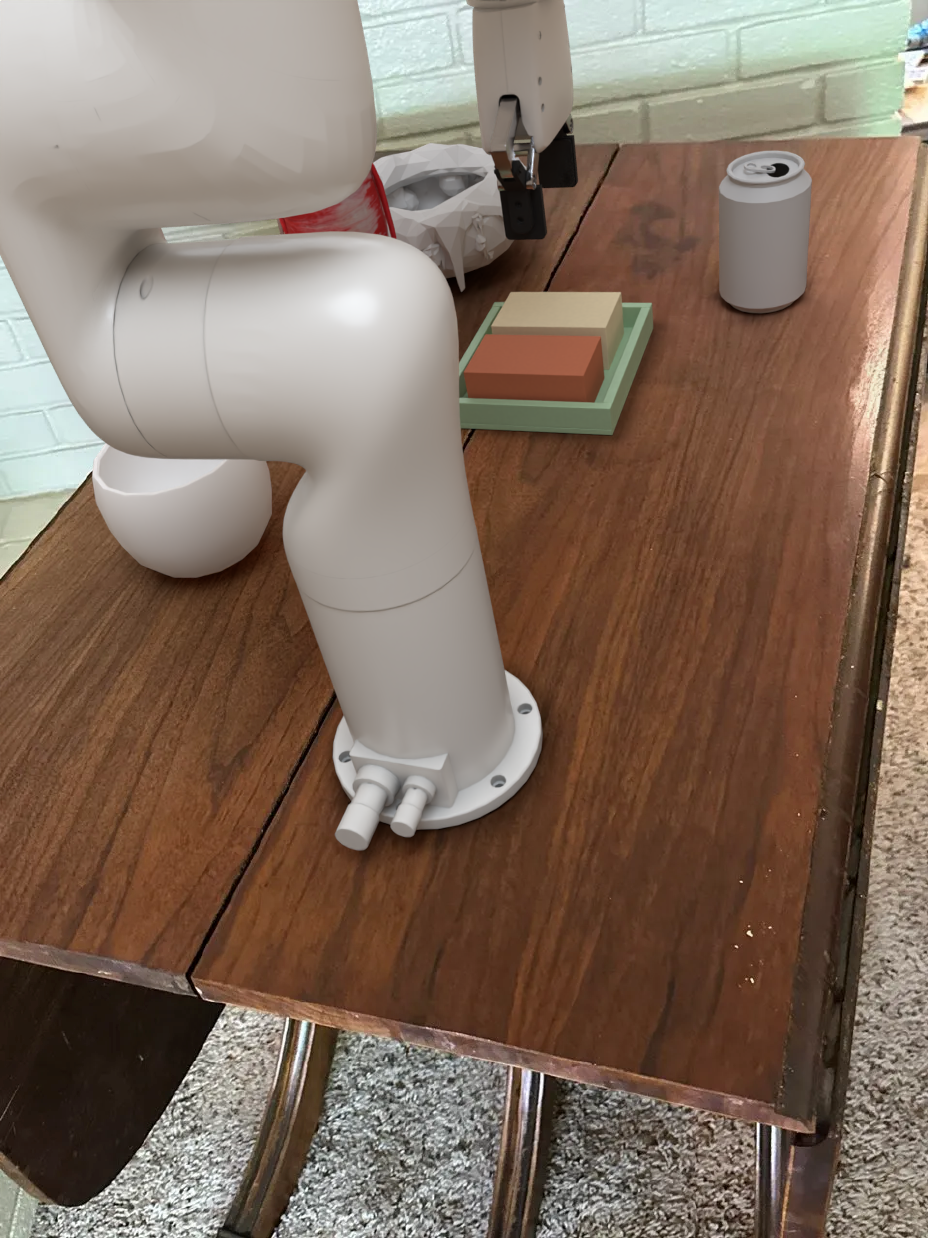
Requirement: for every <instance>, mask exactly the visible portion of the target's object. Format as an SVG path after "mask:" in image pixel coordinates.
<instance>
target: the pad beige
mask: <svg viewBox="0 0 928 1238" xmlns="http://www.w3.org/2000/svg"><path fill="white" fill-rule="evenodd" d="M622 298H623V296H622V292H621V291H510V292H509V294H508V296H507V298H506V300H505V301H504V302H505V303H504V305H503V306H502V308H501V310H500V312H499V313H498V315H497V317H496V318H495V320H494V322H493V324H492V325H491V329H492V335H554V336H601V344H602V355H603V367H604V370H609V369H610V366H611V364H612V361H613V359H614V357H615V354H616V352H617V349H618V347H619V344H620V342H621V340H622V337H623V335H624V325H623V311H622V303H623V299H622Z"/></svg>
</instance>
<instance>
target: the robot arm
mask: <svg viewBox="0 0 928 1238" xmlns="http://www.w3.org/2000/svg"><path fill="white" fill-rule="evenodd" d="M465 2H466V4H467V5H468V6H469V7H473V9H472V13H471V14H472V17H471V19H472V21H471V24H472V25H471V27H472V28H471V29H472V55H473V56H472V57H473V70H474V83H475V92H476V103H477V112H478V113H477V114H478V123H479V132H480V139H481V148H483V150H484V151H485V152H486V153H487V154H488V155H491V156H492V159H493V161H494V164H495V166H494V168H495V170H494V174H496V177H497V188H498V190H499V192H500V200H501V207H502V214H503V221H504V229H505V235H506V238H507V239H509V240H514V241H532V240H535V241H536V240H545V238H546V236H547V234H548V228H547V220H546V219H547V218H546V210H545V209H546V208H545V200H544V190H543V189H564V188H568V189H569V188H575V187H576V186H577V185H578V183H579V173H578V163H577V151H576V142H575V141H576V139H575V134H574V133H573V132H574V126H575V125H574V118H573V115H572V114H571V112H572V111H573V106H574V78H573V76H574V75H573V66H572V56H571V45H570V37H569V31H568V30H569V29H568V22H567V21H568V20H567V15H566V14H567V13H566V4H565V1H564V0H465ZM360 11H361V10H360V5H359V2H358V0H0V258H1V260H2V262H3V264H4V267H5V269H6V271H7V273H8V275H9V277H10V279H11V281H12V284H13V286H14V288H15V290H16V292H17V294H18V296H19V299H20V301H21V302H22V304H23V307H24V309H25V311H26V314H27V315H28V317H29V320H30V322H31V323H32V325H33V328H34V330H35V333H36V335H37V337H38V339H39V341H40V343H41V345H42V347H43V349H44V351H45V353H46V355H47V358H48V360H49V362H50V365H51V366H52V368H53V370H54V373H55V375H56V376H57V379H58V380H59V382H60V384H61V387H62V388H63V390H64V392H65V394H66V396H67V397H68V400H69V401H70V403H71V404H72V406H73V408H74V409H75V411H76V414H77V415H78V416H79V417H80V418H81V420H82V422H84V424H85V425H86V426H87V427H88V428H89V430H90V431H91V432H92V433H93V434H94V435H95V436H96V437H97V438H98V439H100V440H101V441H103V442H104V444H105V443H106V444H108V445H109V446H111V447H113V448H114V449H117V450H119V451H121V452H124V453H126V454H130V455H134V456H139V457H145V458H157V459H182V460H257V461H266V462H283V463H290V464H294V465H297V466H300V467H302V468H303V469H304V470H305V472H304V473H303V475H302V476H301V478H300V479H299V481H298V483H297V484H296V487H295V488H294V490H293V492H292V494H291V495H290V498H289V500H288V503H287V505H286V509H285V512H284V516H283V522H282V541H283V549H284V552H285V556H286V560H287V563H288V565H289V568H290V572H291V574H292V577H293V579H294V582H295V584H296V587H297V589H298V592H299V595H300V599H301V601H302V603H303V607H304V610H305V612H306V614H307V618H308V620H309V623H310V626H311V629H312V631H313V634H314V637H315V640H316V643H317V646H318V648H319V651H320V653H321V656H322V659H323V661H324V664H325V667H326V670H327V673H328V676H329V679H330V681H331V684H332V686H333V690H334V693H335V695H336V697H337V701H338V703H339V706H340V709H341V711H342V714H343V715H342V717H341V719H340V721H339V723H338V725H337V728H336V732H335V735H334V739H333V742H332V743H333V744H332V760H333V765H334V769H335V773H336V776H337V778H338V780H339V782H340V786H341V788H342V790H343V791H344V793H345V794H346V795H347V797H348V799H349V800H350V801H351V802H350V803H348V805H347V807H346V809H345V811H344V814H343V815H342V817H341V820H340V822H339V824H338V826H337V828H336V830H335V832H334V837H335V839H336V841H338V842H339V843H340V844H341V845H342V846H344V847H346V848H348V849H350V850H354V851H365V850H366V849H368V847H369V845H370V843H371V841H372V839H373V836H374V834H375V832H376V830H377V827H378V826H379V823H380V822H381V823H384V824H387V825H390V829H391V831H392V832H393V833H394V834H396V835H397V836H400V837H404V838H412V837H413V836H415V833H416V831H417V830H439V829H445V828H451V827H456V826H460V825H462V824H463V825H464V824H465V823H469V822H471V821H474V820H477V819H479V818H482V817H484V816H486V815H487V814H489V813H490V812H493V811H495V810H496V809H498V808H499V807H501V806H502V805H504V804H505V803H506V802H507V801H508V800H510V799H511V798H513V796H515V795H516V794H517V792H519V790H520V789H521V788H522V787H523V786H524V784H525V783H526V782H528V780H529V778H530V776H531V774H532V773H533V771H534V769H535V768H536V766H537V765H538V761H539V758H540V754H541V752H542V748H543V747H542V746H543V737H544V733H543V725H542V718H541V714H540V711H539V707H538V703H537V701H536V700H535V698H534V696H533V695H532V692H531V691H530V689H529V688H528V687H527V686H526V685H525V684H524V683H523V682H522V681H521V680H520V679H519V678H518V677H516V676H515V675H513V674H512V673H511V672H510V671H507V670H506V669H505V666H504V665H505V664H504V660H503V655H502V650H501V645H500V639H499V635H498V630H497V626H496V621H495V615H494V610H493V606H492V601H491V600H492V599H491V596H490V595H491V594H490V590H489V585H488V580H487V575H486V570H485V565H484V560H483V556H482V550H481V545H480V541H479V535H478V529H477V526H476V522H475V521H476V520H475V517H474V511H473V506H472V501H471V494H470V491H469V484H468V479H467V478H468V477H467V472H466V467H465V466H466V465H465V458H464V449H463V442H462V428H461V426H460V407H459V362H460V350H459V349H460V347H459V346H460V343H459V342H460V341H459V327H458V318H457V312H456V305H455V301H454V297H453V293H452V290H451V287H450V285H449V283H448V281H447V278H445V277H444V275H443V273H442V272H441V270H440V269H439V268H438V266H437V265H436V264H435V263H434V262H433V261H432V260H431V259H430V258H429V257H428V256H427V255H426V254H424V253H423V252H422V251H420V250H419V249H417V248H415V247H414V246H412V245H410V244H408V243H405V242H403V241H401V240H397V239H394V238H391V237H387V236H383V235H378V234H370V233H361V232H339V231H328V232H313V233H297V234H285V233H284V234H281V235H280V234H268V235H266V234H265V235H264V234H263V235H251V236H240V237H238V238H224V239H223V238H221V239H205V240H191V241H174V242H173V241H172V242H168V241H167V239H166V237H165V234H164V231H163V229H164V228H178V227H179V228H180V227H194V226H195V227H196V226H209V225H210V226H211V225H224V224H225V225H227V224H237V223H249V222H261V221H268V220H277V218H285V217H290V216H296V215H302V214H307V213H313V212H316V211H319V210H322V209H325V208H328V207H330V206H333V205H336V204H338V203H340V202H341V201H343V200H344V199H346V198H347V197H348V196H350V195H351V194H353V193H354V192H355V191H356V190H357V189H358V188H359V187H360V186H361V184H362V183H363V181H364V180H365V178H366V177H367V175H368V173H369V171H370V170H371V166H372V163H374V159H375V156H376V149H377V139H378V127H377V113H376V103H375V101H376V100H375V93H374V83H373V78H372V77H373V76H372V73H371V66H370V57H369V52H368V47H367V41H366V37H365V32H364V27H363V22H362V21H363V20H362V16H361V12H360ZM527 140H528V141H529V140H530V141H529V142H515V141H527ZM517 157H518V158H519V157H526V169H525V168H524V166H525V165H524V164H523V165H524V166H523V165H522V163H523V162H522V161H521V159H520V160H515V158H517ZM520 161H521V162H522V163H521V162H520Z"/></svg>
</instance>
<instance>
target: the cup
mask: <svg viewBox="0 0 928 1238" xmlns="http://www.w3.org/2000/svg"><path fill="white" fill-rule="evenodd" d="M271 480H272V479H271V472H270V469H269V466H268V463H267V461H257V460H182V459H157V458H145V457H139V456H134V455H130V454H126V453H124V452H121V451H119V450H117V449H114V448H113V447H111V446H109V445H108V444H106V443H105V442H104V444H103V446H102V447H101V449H100V450H99V452H98V453H97V454H96V456H95V458H94V459H93V462H92V474H91V481H92V487H93V494H94V500H95V504H96V506H97V508H98V510H99V512H100V515H101V517H102V518H103V520H104V522H105V524H106V527H107V529H108V530H109V532H110V533H111V534H112V536H113V537H114V539H116V541H117V542H118V543H119V545H120V546H121V547H122V548H123V549H124V550H125V551H126V552H127V553H128V554H129V555H130V556H131V557H132V558H133V559H134V560H135V561H136V562H137V563H138V564H139V565H140V566H141V567H145V568H148V569H150V570H152V571H155V572H158V573H160V574H163V575H166V576H169V577H171V578H179V579H180V578H181V579H182V578H183V579H185V578H189V579H190V578H191V579H194V578H195V579H196V578H200V577H204V576H209V575H213V574H216V573H221V572H223V571H225V570H226V569H229V568H231V567H232V566H233V565H235V564H237V563H239V562H241V561H242V560H244V559H245V558H246V556H248V555H249V554H250V553H251V552H252V551H253V550H254V549H256V547H257V546H259V544H260V541H261V540H262V537H263V535H264V533H265V531H266V528H267V526H268V524H269V521H270V520H271V517H272V515H273V496H272V495H273V490H272V489H273V488H272V481H271Z"/></svg>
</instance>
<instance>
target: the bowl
mask: <svg viewBox="0 0 928 1238" xmlns="http://www.w3.org/2000/svg"><path fill="white" fill-rule="evenodd" d="M515 160H520V162H521V163H522V165H523V166H524V168H525V169H526V167H527V165H524V163H523V162H522V161H521V159H520V158H519V157H515ZM372 163H373V164H374V166H375V168H376V170H377V172H378V174H379V176H380V179H381V181H382V183H383V186H384V190H385V194H386V198H387V201H388V205H389V209H390V213H391V216H392V220H393V224H394V228H395V232H396V237H397V240H401V241H403V242H405V243H408V244H410V245H412V246H414V247H415V248H417V249H419V250H420V251H422V252H423V253H424V254H426V255H427V256H428V257H429V258H430V259H431V260H432V261H433V262H434V263H435V264H436V265H437V266H438V268H439V269H440V270H441V272H442V273H443V275H444V277H445V278H446V279H449V278H456V279H455V280H456V282H457V285H458V287H459V291H460V292H461V293H462V292H463V291H464V290H465V289H466V282H465V274H468V273H469V272H472V271H474V270H478V269H480V268H484V267H486V266H488V265H491V263H493V262H494V261H495V260H497V259H498V258H499V257H500V256H501V255H502V254H504V253H505V252H506V251H507V250H509V249H510V247H511V246H512V244H513V243H514V241H515V240H509V239H507V238H506V235H505V229H504V221H503V214H502V207H501V200H500V192H499V190H498V188H497V177H496V174H494V170H495V168H494V166H495V164H494V161H493V159H492V156H491V155H488V154H487V153H486V152H485V151H484V150H483V147H477V146H472V145H468V144H464V143H457V144H442V143H435V142H429V143H426V144H424V145H422V146H419V147H417V148H415V149H412V150H411V151H405V152H400V153H393V154H389V155H386V156H382V157H380V158H378V159H376V160H375V161H373V162H372ZM387 226H388V224H387ZM388 234H389V237H391V235H390V231H389V227H388Z"/></svg>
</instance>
